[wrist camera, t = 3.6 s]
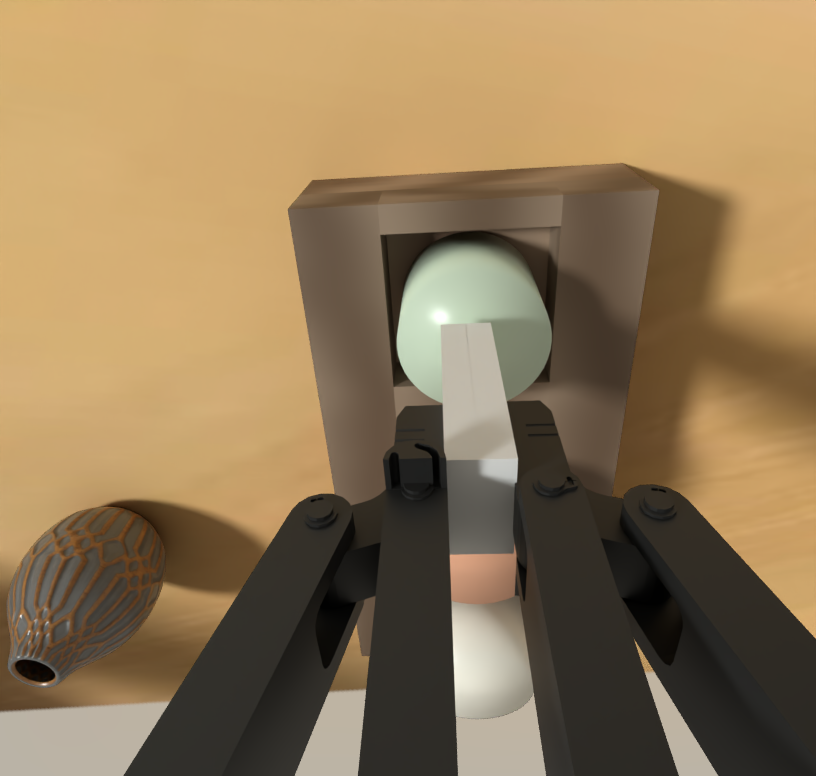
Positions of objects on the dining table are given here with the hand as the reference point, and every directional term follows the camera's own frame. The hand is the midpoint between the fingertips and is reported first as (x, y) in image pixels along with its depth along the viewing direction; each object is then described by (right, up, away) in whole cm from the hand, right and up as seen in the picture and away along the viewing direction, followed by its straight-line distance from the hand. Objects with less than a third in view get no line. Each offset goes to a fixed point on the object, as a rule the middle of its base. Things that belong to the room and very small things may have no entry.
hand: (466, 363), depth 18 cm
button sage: (0, +3, +4) cm, 5 cm away
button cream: (+1, -12, +11) cm, 16 cm away
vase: (-18, -9, +16) cm, 26 cm away
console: (+1, -3, +11) cm, 11 cm away
